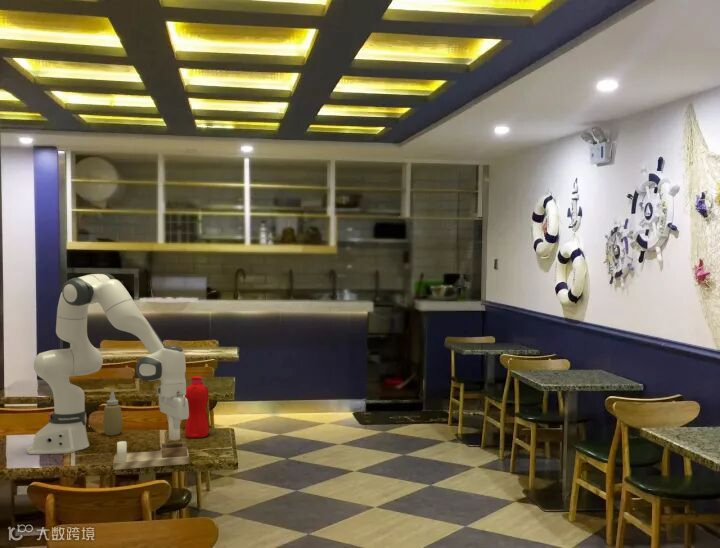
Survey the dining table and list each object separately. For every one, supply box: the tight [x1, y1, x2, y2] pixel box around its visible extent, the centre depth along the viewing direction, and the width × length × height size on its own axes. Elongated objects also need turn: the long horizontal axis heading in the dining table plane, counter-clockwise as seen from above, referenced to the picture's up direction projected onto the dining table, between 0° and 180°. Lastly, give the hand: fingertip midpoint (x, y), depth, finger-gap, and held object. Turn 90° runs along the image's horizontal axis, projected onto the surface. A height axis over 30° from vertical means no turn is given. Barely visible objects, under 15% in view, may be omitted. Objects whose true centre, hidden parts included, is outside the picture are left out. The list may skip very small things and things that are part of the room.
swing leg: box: [116, 440, 128, 462], centre depth 255 cm, size 9×3×6 cm, turn 15°
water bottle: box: [184, 375, 213, 439], centre depth 298 cm, size 9×11×25 cm
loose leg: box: [168, 415, 181, 441], centre depth 261 cm, size 4×4×9 cm
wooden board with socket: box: [112, 441, 190, 471], centre depth 259 cm, size 26×12×5 cm, turn 106°
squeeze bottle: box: [102, 391, 124, 437], centre depth 301 cm, size 8×8×18 cm
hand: (174, 427), depth 261 cm, fingers closed on loose leg, 4 cm apart
